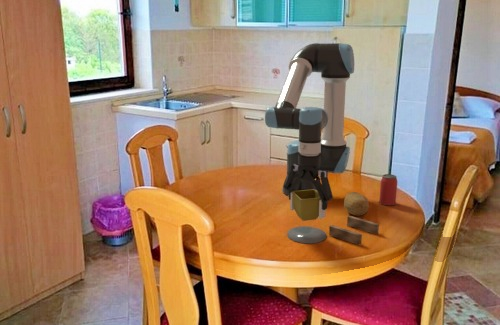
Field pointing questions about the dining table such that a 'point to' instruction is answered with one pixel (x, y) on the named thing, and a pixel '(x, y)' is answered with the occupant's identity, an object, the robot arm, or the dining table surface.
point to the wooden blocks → (351, 235)
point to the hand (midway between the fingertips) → (307, 213)
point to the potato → (356, 203)
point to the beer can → (388, 190)
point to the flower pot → (306, 204)
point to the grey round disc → (306, 235)
